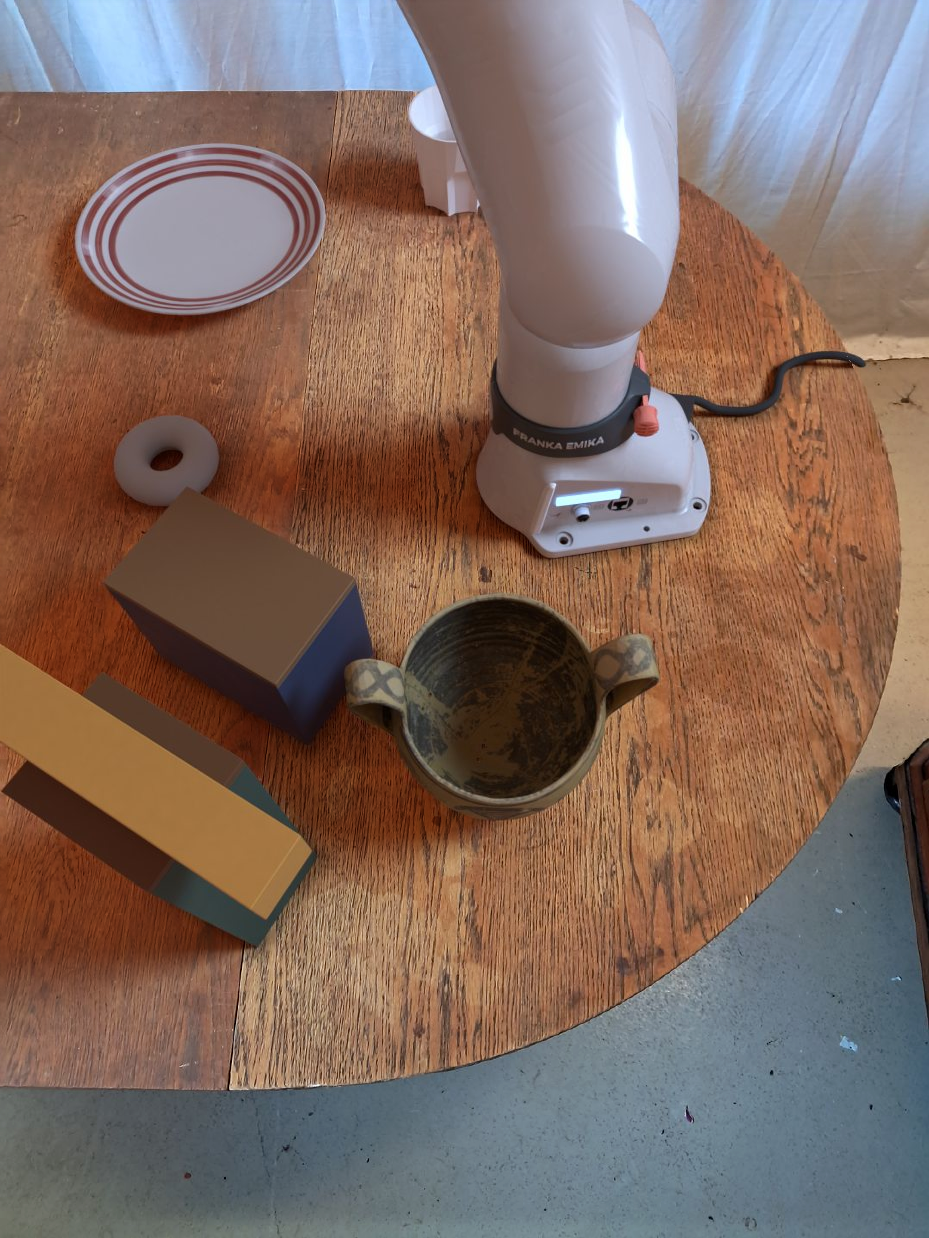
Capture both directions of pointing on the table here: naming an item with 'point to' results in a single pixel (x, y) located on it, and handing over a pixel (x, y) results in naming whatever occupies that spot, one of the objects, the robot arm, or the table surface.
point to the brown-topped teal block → (132, 850)
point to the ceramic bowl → (500, 703)
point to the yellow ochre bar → (147, 788)
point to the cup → (439, 156)
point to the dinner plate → (200, 229)
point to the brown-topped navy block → (244, 612)
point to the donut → (155, 439)
